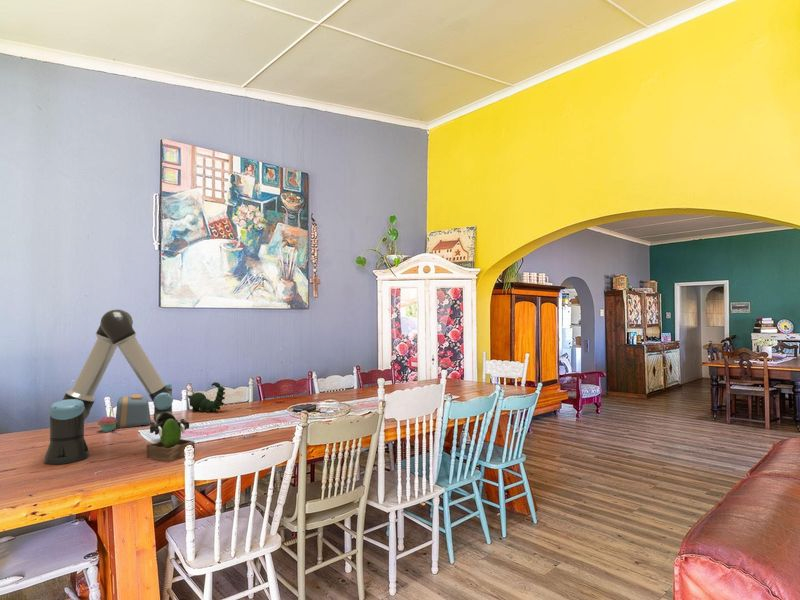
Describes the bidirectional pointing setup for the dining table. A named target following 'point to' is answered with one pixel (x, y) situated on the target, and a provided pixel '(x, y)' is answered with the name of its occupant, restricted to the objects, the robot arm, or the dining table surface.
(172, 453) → the walnut stand
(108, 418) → the cupcake
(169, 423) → the avocado
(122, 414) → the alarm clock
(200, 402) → the toy figurine
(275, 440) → the dining table surface
